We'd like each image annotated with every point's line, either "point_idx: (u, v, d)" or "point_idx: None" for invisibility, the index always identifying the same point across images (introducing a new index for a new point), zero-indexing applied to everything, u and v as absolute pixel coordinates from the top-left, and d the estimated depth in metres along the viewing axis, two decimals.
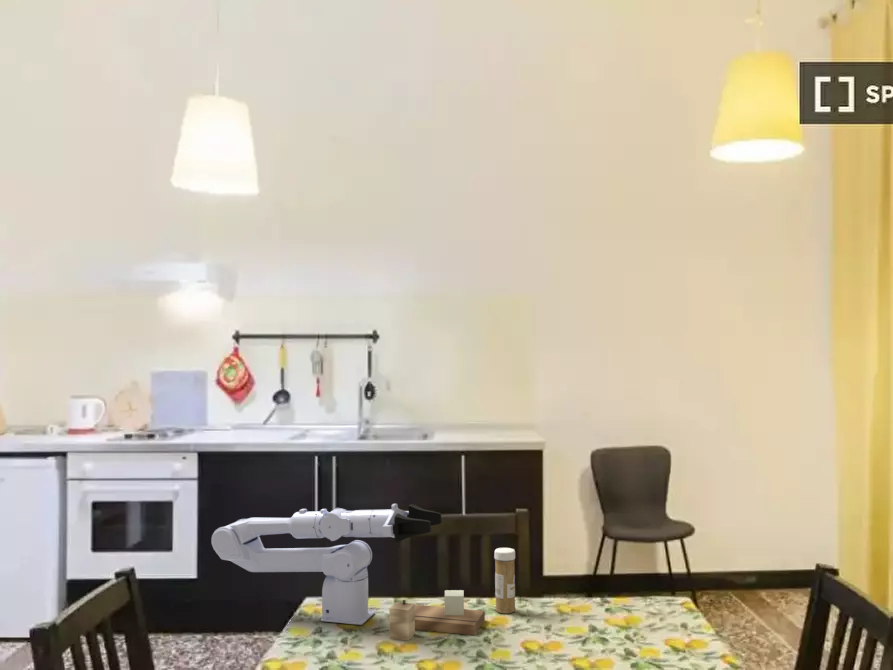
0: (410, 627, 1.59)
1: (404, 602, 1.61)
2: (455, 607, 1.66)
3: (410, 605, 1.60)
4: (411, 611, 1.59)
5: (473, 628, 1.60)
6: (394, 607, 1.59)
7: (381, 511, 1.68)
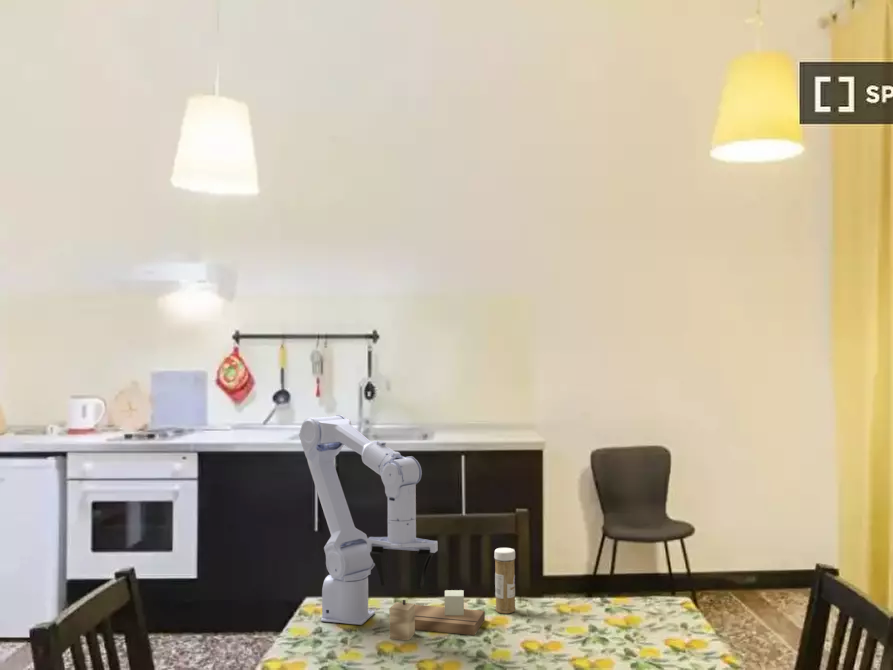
0: (410, 627, 1.59)
1: (404, 602, 1.61)
2: (455, 607, 1.66)
3: (410, 605, 1.61)
4: (411, 611, 1.60)
5: (473, 628, 1.60)
6: (394, 607, 1.59)
7: (393, 530, 1.58)
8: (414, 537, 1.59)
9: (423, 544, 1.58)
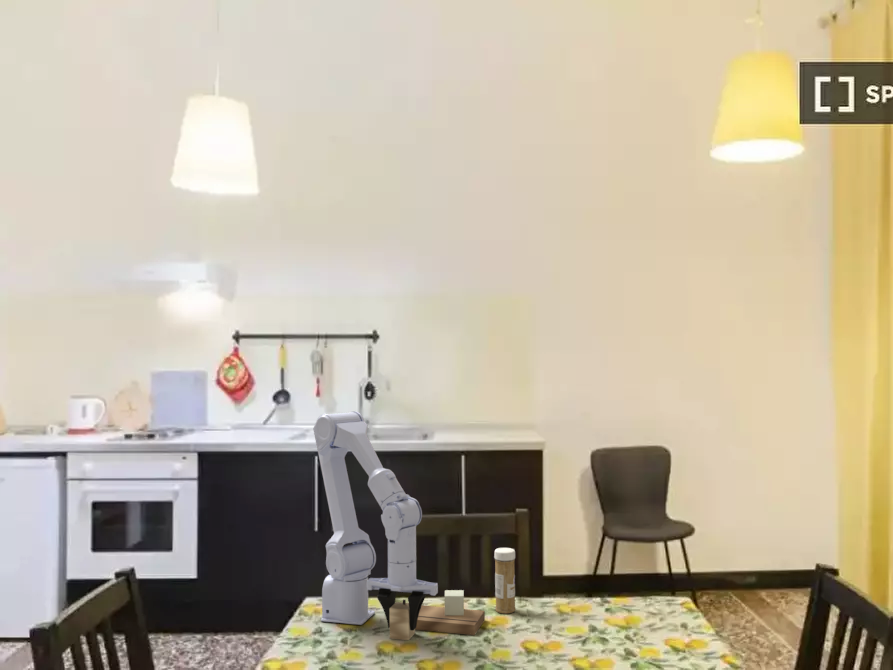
0: None
1: (404, 602, 1.61)
2: (455, 607, 1.66)
3: None
4: None
5: (473, 628, 1.60)
6: (394, 607, 1.59)
7: (393, 573, 1.58)
8: (414, 579, 1.59)
9: (423, 587, 1.57)
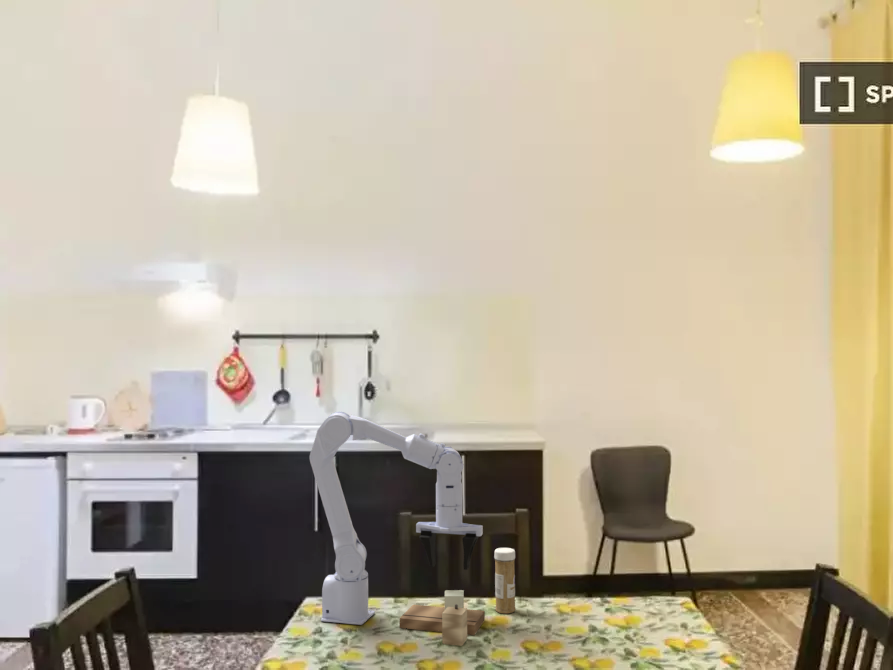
0: (463, 632, 1.56)
1: (456, 607, 1.58)
2: None
3: (463, 610, 1.57)
4: (464, 616, 1.56)
5: (473, 628, 1.60)
6: (447, 612, 1.56)
7: (441, 516, 1.70)
8: (461, 522, 1.71)
9: (470, 528, 1.69)
